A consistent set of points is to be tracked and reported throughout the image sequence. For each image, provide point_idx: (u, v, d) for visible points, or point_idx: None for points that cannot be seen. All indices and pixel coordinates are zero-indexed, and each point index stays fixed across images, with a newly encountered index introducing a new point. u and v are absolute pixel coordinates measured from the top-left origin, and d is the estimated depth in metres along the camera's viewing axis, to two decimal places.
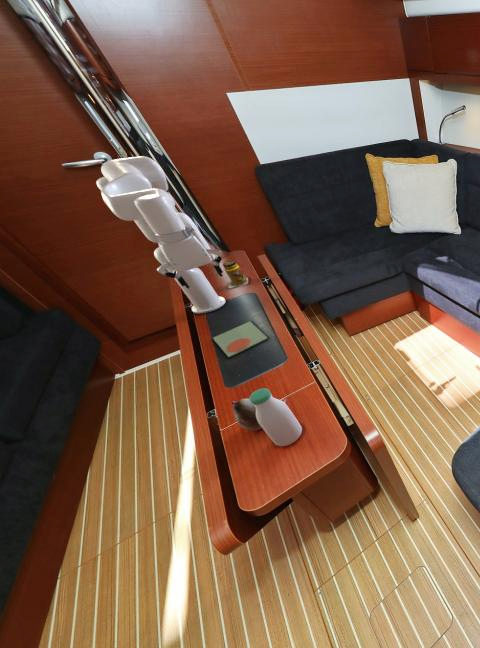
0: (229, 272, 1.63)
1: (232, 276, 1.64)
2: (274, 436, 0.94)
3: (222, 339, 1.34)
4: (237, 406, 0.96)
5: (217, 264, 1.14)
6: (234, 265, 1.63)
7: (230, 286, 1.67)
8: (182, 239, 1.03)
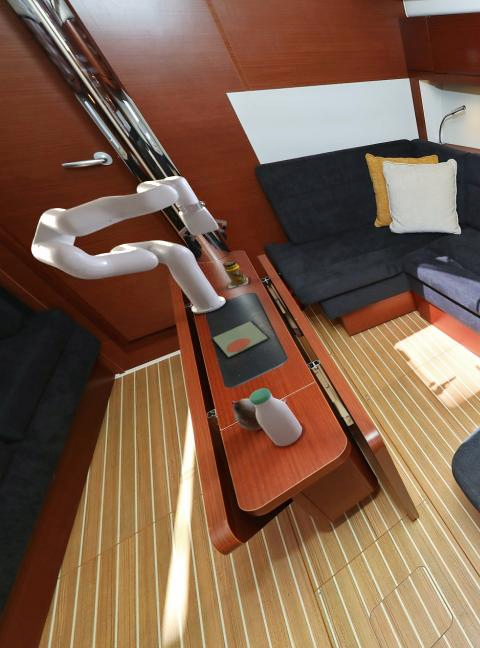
0: (229, 272, 1.63)
1: (232, 276, 1.64)
2: (274, 436, 0.94)
3: (222, 339, 1.34)
4: (237, 406, 0.96)
5: (223, 231, 1.49)
6: (234, 265, 1.63)
7: (230, 286, 1.67)
8: (196, 210, 1.38)
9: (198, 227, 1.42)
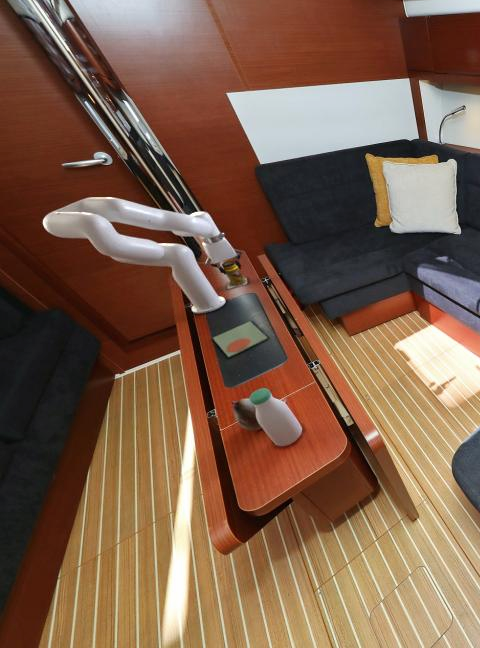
0: (228, 272, 1.63)
1: (231, 276, 1.64)
2: (274, 436, 0.94)
3: (222, 339, 1.34)
4: (237, 406, 0.96)
5: (237, 260, 1.65)
6: (233, 265, 1.63)
7: (229, 286, 1.67)
8: (218, 241, 1.54)
9: (219, 255, 1.57)
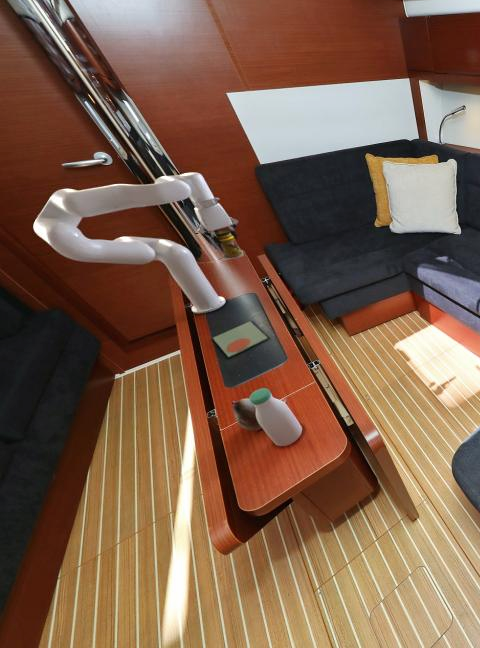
0: (223, 242, 1.49)
1: (226, 247, 1.50)
2: (274, 436, 0.94)
3: (222, 339, 1.34)
4: (237, 406, 0.96)
5: (233, 229, 1.52)
6: (228, 234, 1.50)
7: (224, 258, 1.53)
8: (212, 205, 1.41)
9: (213, 222, 1.44)
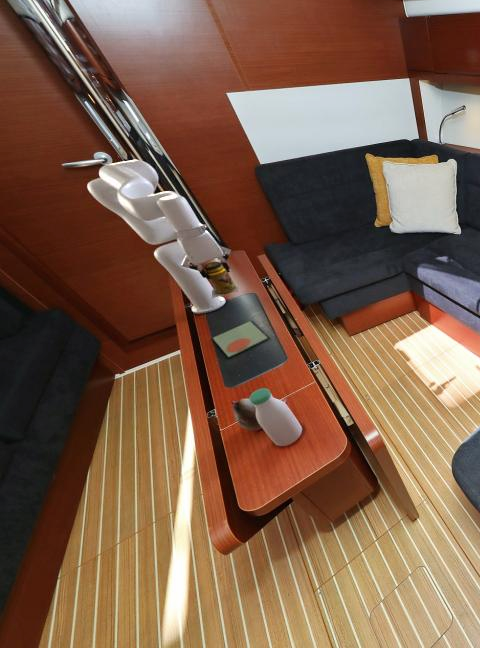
0: (213, 277, 1.24)
1: (217, 282, 1.25)
2: (274, 436, 0.94)
3: (222, 339, 1.34)
4: (237, 406, 0.96)
5: (225, 261, 1.27)
6: (219, 267, 1.25)
7: (214, 295, 1.28)
8: (198, 235, 1.16)
9: (200, 254, 1.19)
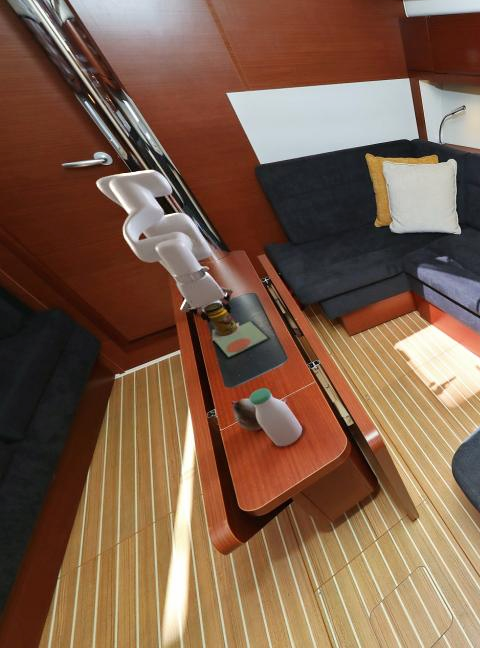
0: (213, 319, 1.19)
1: (217, 324, 1.21)
2: (274, 436, 0.94)
3: (222, 339, 1.34)
4: (237, 406, 0.96)
5: (226, 302, 1.22)
6: (220, 309, 1.20)
7: (215, 336, 1.23)
8: (198, 279, 1.11)
9: (200, 298, 1.14)
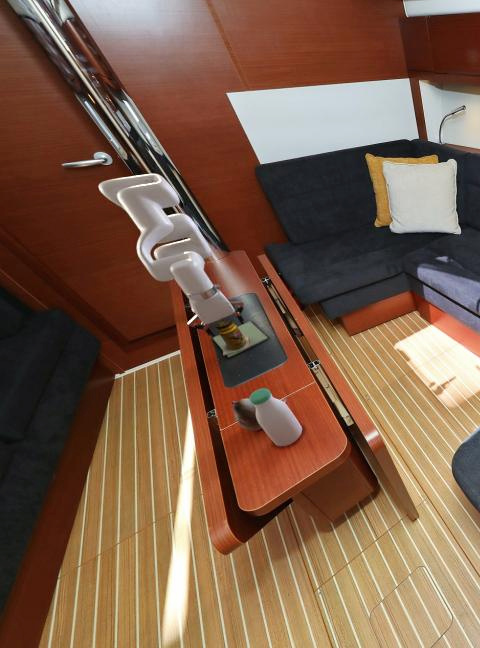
0: (224, 335, 1.24)
1: (228, 339, 1.25)
2: (274, 436, 0.94)
3: (222, 339, 1.34)
4: (237, 406, 0.96)
5: (239, 314, 1.27)
6: (230, 325, 1.24)
7: (225, 351, 1.28)
8: (210, 296, 1.15)
9: (211, 314, 1.19)
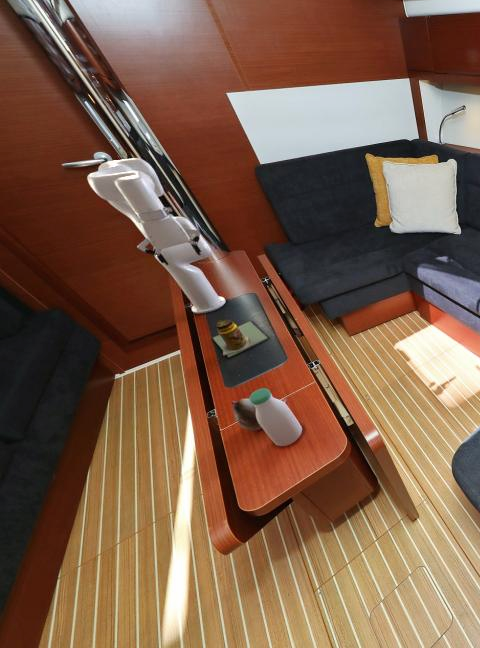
0: (224, 335, 1.24)
1: (228, 339, 1.25)
2: (274, 436, 0.94)
3: (222, 339, 1.34)
4: (237, 406, 0.96)
5: (195, 243, 1.22)
6: (230, 325, 1.24)
7: (225, 351, 1.28)
8: (160, 218, 1.11)
9: (163, 239, 1.14)
